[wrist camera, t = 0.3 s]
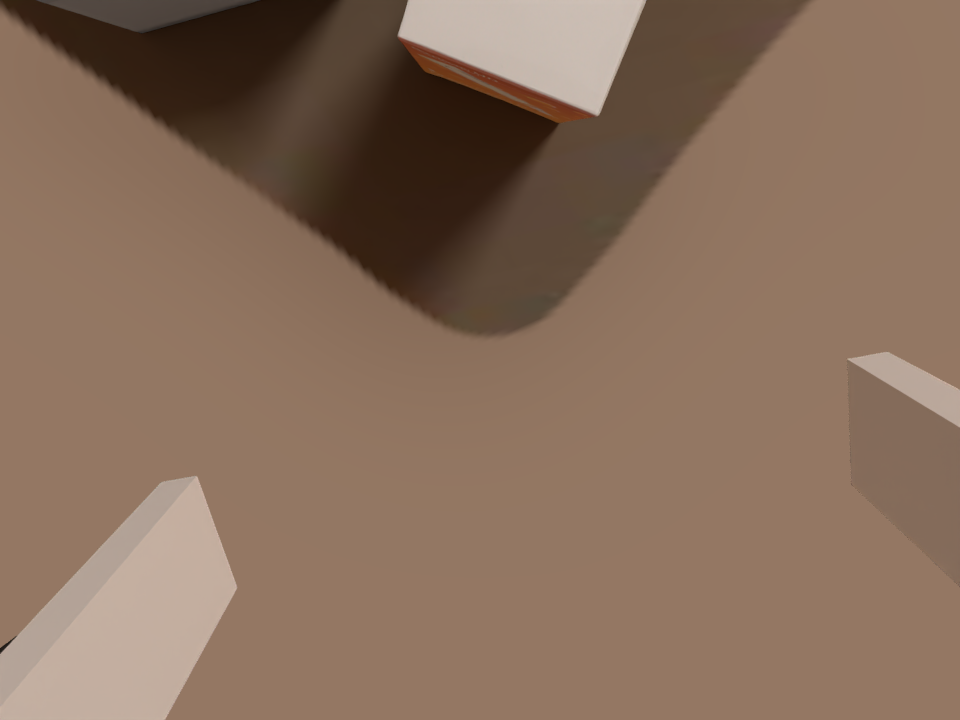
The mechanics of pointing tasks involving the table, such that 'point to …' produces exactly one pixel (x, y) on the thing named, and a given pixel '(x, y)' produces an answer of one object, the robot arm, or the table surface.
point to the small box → (525, 49)
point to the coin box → (146, 11)
